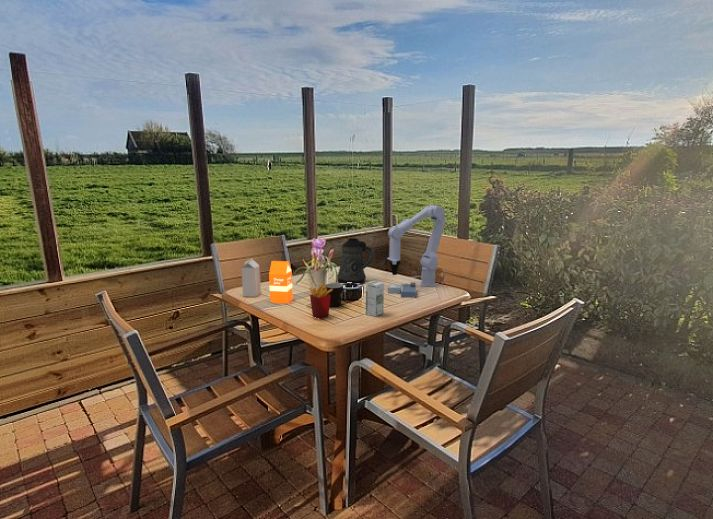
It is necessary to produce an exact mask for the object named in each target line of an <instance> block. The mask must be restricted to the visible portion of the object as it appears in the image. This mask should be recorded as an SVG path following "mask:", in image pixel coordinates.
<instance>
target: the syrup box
mask: <svg viewBox="0 0 713 519" xmlns="http://www.w3.org/2000/svg"><path fill="white" fill-rule="evenodd" d="M365 289H366V290H365V314H366V315H368V314H369V316H371V315H372V317H378V316H380V315H383V314H384V298H385V297H384V296H385V283H384V282H382V281H379V280H373V281H372V280H371V281H369V282H365ZM382 313H383V314H382Z"/></svg>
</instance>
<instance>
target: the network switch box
mask: <svg viewBox="0 0 713 519" xmlns="http://www.w3.org/2000/svg"><path fill="white" fill-rule="evenodd" d="M416 288H417V286H416V282H410V283H409V284H408V283H407V284H406V283H405V284H400V298H405V297H416V298H417V289H416Z"/></svg>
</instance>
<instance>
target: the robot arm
mask: <svg viewBox="0 0 713 519" xmlns="http://www.w3.org/2000/svg"><path fill="white" fill-rule="evenodd" d="M445 214H446V210H445V209H444V208H443V206H442V205H434V204H429V205H427V206H424V207H423V209H422V210H420V211H419V212H417V213H416V214H415V215H414V216H412V217H411V218H410V219H408V218H405V219H402V221H401V222H399V223H398V224H395V225H394V226H392V227H390V228H389V230H388V232H387V235H388V238H389V256H388V257H387V260H388V261H389V266H390V268H391V273H392V276H397V274H398V270H399V266H400V264H401V239H402V237H403V235H404V234H406V233H407V232H408V231H410V230H411V229H413V228H414V224H416V223H418V222H420V221H422V220H423V219H425V218H430V219H431V220H432V222H433V226H432V227H433V228H432V232H431V235H430V239H429V242H428V245H427V249H426V251H425V252H424V253H423V254H422V257H420V260H419V264H420V266H421V281H420V286H421V287H425V286H429V287H431V288H434V287H436V288H437V284H436V269H437V268H438V266H439V264H438V260H439V256H438V254H437V253H438V250H439V245H440V242H441V239H442V235H443V232H444V228H445V225H446V216H445Z"/></svg>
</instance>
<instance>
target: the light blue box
mask: <svg viewBox="0 0 713 519" xmlns="http://www.w3.org/2000/svg"><path fill="white" fill-rule="evenodd" d="M393 293H400V294H401V284H388V285H387V294H393Z"/></svg>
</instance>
